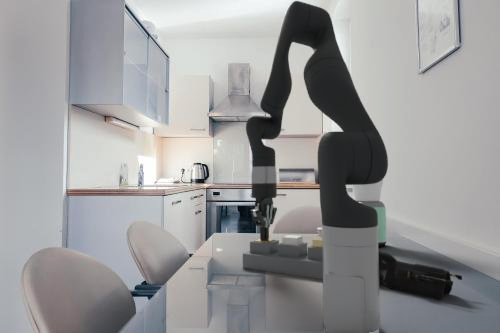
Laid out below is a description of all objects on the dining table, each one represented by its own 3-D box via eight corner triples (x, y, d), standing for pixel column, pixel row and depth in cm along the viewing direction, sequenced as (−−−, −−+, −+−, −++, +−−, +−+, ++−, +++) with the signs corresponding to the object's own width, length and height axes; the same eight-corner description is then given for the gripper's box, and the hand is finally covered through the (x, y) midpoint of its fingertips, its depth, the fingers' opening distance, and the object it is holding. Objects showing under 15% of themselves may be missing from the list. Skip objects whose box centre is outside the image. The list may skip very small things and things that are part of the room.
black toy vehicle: (451, 308, 68) (451, 267, 68) (341, 279, 86) (342, 246, 86) (462, 300, 72) (462, 261, 73) (355, 273, 91) (356, 243, 91)
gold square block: (267, 252, 98) (267, 241, 98) (254, 251, 100) (254, 240, 101) (274, 250, 102) (274, 239, 102) (261, 248, 104) (261, 238, 104)
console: (331, 280, 85) (331, 251, 85) (242, 267, 98) (242, 243, 98) (344, 269, 95) (343, 244, 95) (262, 259, 108) (262, 237, 109)
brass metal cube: (328, 253, 89) (328, 240, 89) (312, 251, 91) (312, 239, 92) (333, 250, 93) (333, 238, 93) (318, 248, 95) (317, 237, 95)
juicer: (374, 251, 119) (371, 151, 121) (340, 246, 129) (339, 154, 130) (398, 244, 132) (395, 154, 133) (365, 239, 142) (363, 156, 143)
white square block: (296, 249, 94) (296, 238, 94) (282, 248, 96) (282, 237, 96) (302, 247, 98) (302, 236, 98) (288, 245, 100) (288, 234, 100)
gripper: (264, 182, 95) (265, 245, 94) (284, 181, 106) (285, 237, 105) (241, 182, 98) (242, 242, 98) (263, 181, 110) (263, 235, 109)
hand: (264, 240), depth 101 cm, fingers closed
